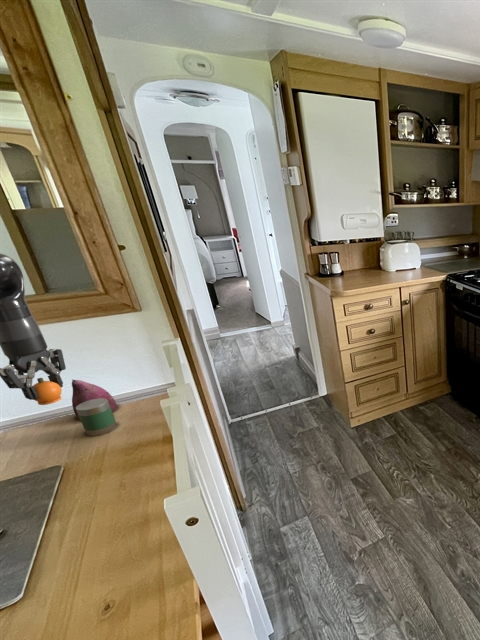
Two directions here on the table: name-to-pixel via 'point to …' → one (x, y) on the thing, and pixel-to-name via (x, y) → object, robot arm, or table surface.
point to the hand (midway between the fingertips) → (46, 393)
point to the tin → (96, 416)
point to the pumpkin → (47, 392)
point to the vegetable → (89, 394)
